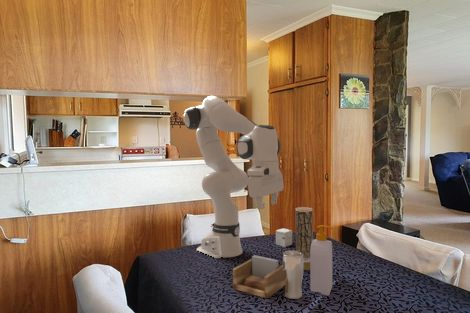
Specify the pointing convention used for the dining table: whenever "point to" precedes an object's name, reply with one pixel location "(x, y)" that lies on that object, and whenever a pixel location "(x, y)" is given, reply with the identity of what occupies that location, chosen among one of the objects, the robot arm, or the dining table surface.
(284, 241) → the skincare box
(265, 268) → the grey block
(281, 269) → the tray
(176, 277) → the dining table surface
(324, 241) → the soap bottle
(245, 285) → the offcut
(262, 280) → the offcut
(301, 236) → the brown bark cylinder
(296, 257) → the beer glass
